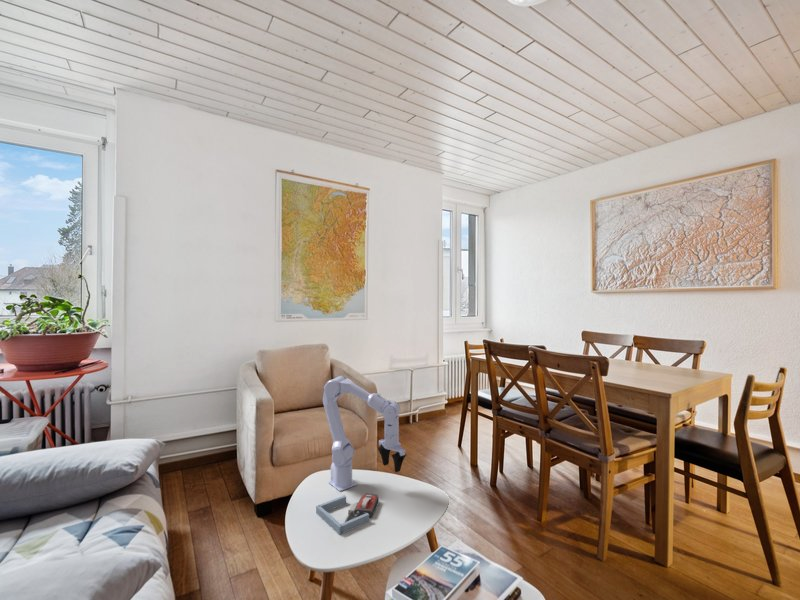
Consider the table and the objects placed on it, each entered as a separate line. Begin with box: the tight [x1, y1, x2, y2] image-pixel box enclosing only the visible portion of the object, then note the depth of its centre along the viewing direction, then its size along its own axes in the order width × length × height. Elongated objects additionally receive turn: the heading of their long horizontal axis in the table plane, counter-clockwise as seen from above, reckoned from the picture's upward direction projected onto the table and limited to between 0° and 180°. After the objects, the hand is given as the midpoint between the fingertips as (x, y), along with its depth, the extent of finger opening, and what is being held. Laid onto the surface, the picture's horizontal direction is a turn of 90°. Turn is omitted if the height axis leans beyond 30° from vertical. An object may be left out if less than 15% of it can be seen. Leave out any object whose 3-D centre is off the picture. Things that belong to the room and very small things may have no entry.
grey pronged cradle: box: [315, 494, 370, 536], centre depth 133 cm, size 16×12×2 cm
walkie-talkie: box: [343, 493, 380, 523], centre depth 136 cm, size 9×4×20 cm
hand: (391, 468), depth 151 cm, fingers open, 7 cm apart
